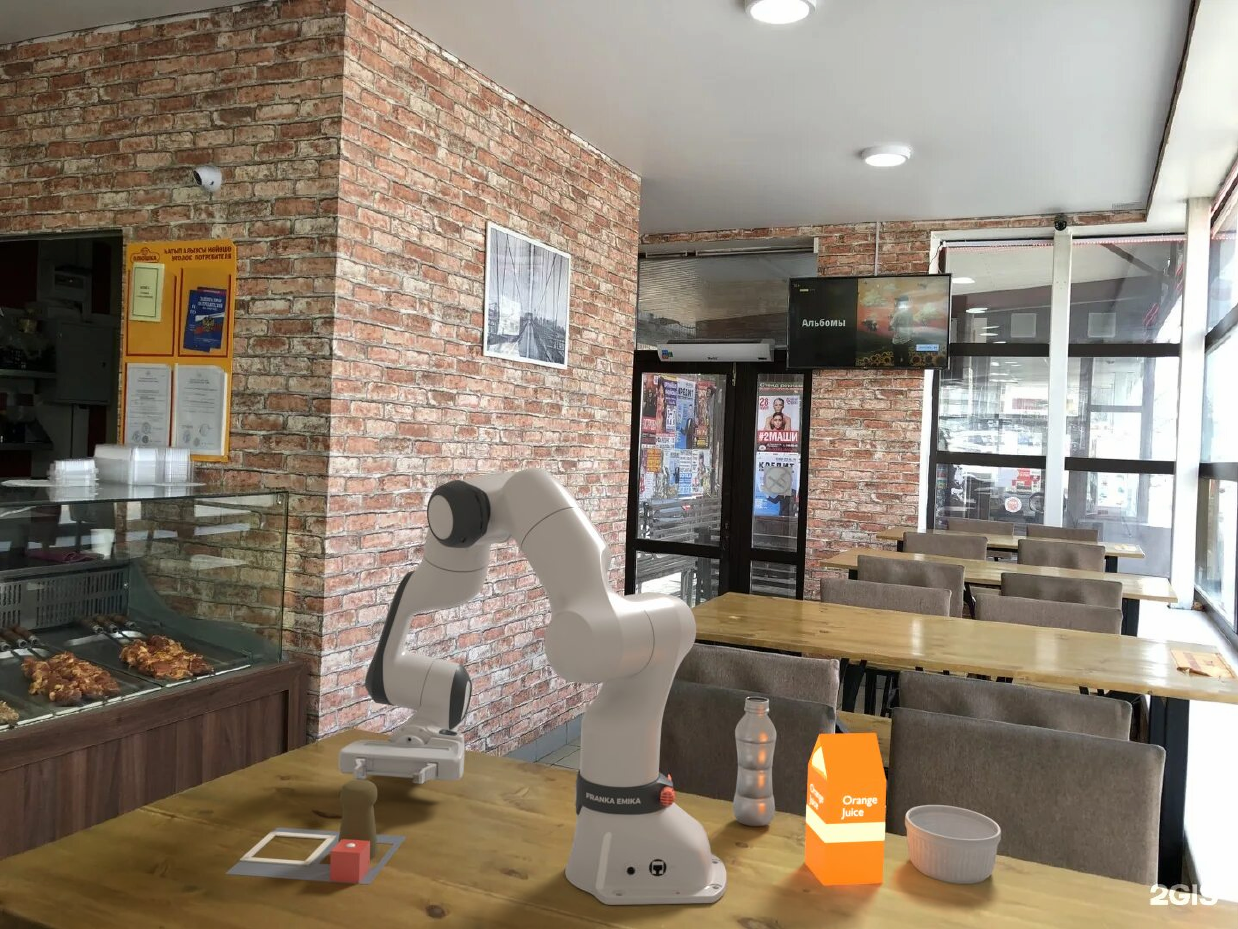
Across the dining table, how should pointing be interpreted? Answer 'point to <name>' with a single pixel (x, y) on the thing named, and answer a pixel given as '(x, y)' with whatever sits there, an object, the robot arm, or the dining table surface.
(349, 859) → the red cube
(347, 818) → the cork
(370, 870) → the grey and white frame
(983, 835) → the ramekin
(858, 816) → the orange juice
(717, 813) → the dining table surface
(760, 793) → the plastic bottle
